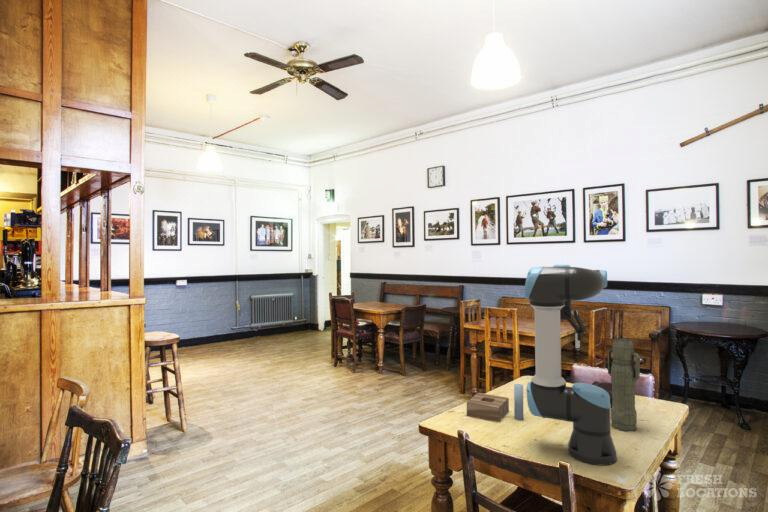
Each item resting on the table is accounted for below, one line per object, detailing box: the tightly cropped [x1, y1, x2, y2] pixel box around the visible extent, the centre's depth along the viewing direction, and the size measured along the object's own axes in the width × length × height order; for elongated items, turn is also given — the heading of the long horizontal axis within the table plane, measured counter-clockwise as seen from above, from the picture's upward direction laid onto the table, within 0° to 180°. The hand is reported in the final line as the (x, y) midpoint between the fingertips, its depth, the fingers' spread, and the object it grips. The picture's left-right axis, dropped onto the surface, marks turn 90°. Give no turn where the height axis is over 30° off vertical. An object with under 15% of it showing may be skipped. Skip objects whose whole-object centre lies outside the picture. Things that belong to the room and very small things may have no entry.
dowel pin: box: [513, 383, 524, 421], centre depth 181 cm, size 4×4×14 cm
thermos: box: [606, 337, 641, 432], centre depth 171 cm, size 9×12×35 cm
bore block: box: [466, 392, 510, 423], centre depth 187 cm, size 14×14×6 cm
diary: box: [590, 380, 612, 409], centre depth 204 cm, size 19×25×5 cm
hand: (562, 345), depth 195 cm, fingers open, 13 cm apart
